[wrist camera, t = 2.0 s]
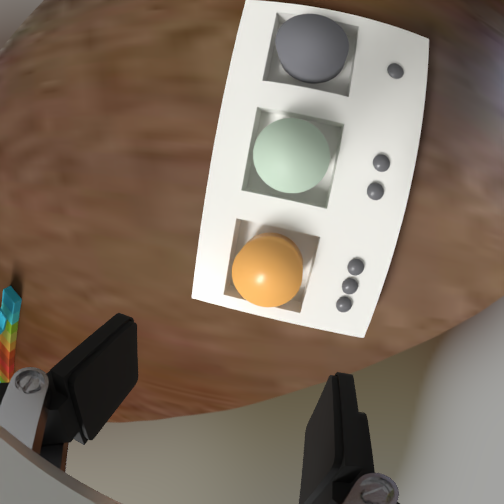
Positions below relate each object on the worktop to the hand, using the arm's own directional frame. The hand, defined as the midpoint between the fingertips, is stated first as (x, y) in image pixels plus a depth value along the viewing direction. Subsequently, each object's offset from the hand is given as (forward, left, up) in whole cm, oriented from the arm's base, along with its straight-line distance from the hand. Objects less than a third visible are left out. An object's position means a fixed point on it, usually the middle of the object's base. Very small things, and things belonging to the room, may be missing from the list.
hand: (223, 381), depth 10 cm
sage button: (+2, -8, -14) cm, 16 cm away
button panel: (+1, -8, -16) cm, 18 cm away
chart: (+31, +38, -16) cm, 52 cm away
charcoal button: (+4, -15, -14) cm, 21 cm away
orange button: (0, 0, -14) cm, 14 cm away
